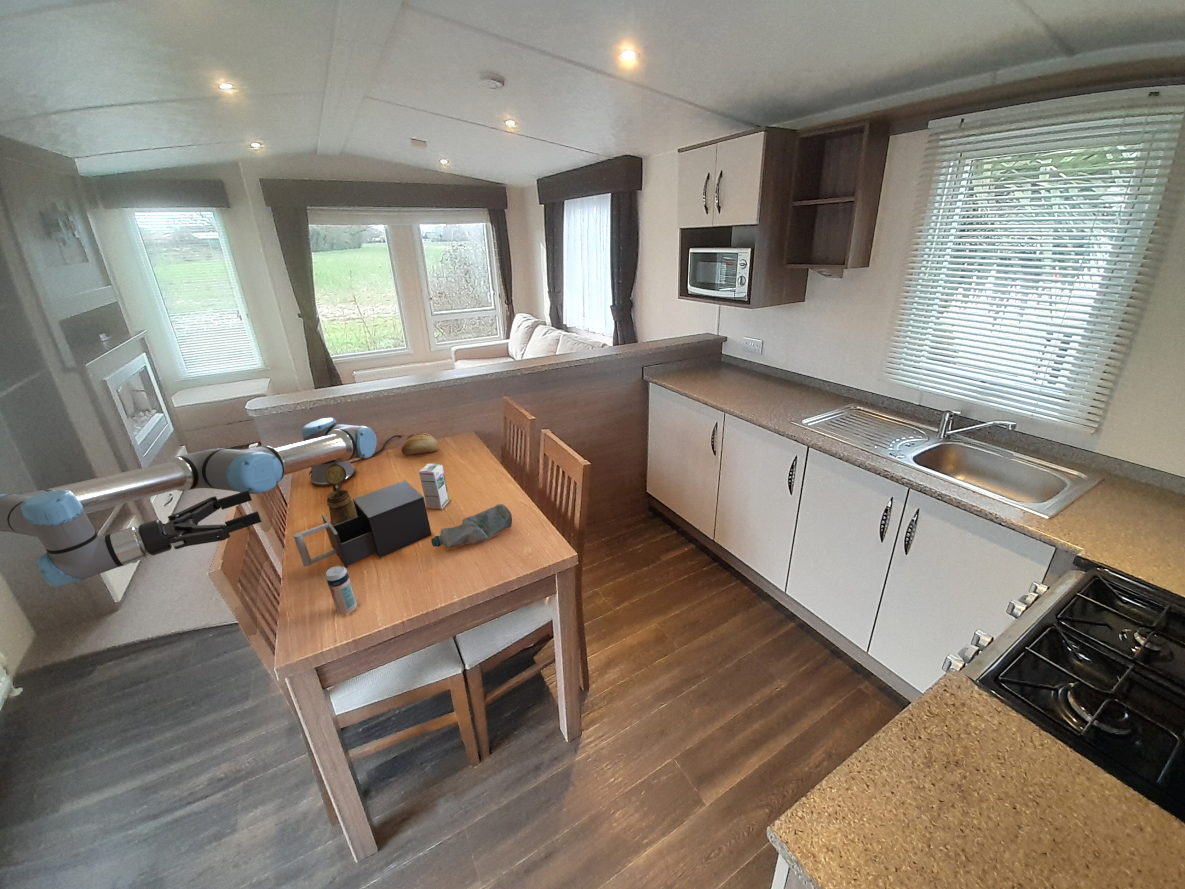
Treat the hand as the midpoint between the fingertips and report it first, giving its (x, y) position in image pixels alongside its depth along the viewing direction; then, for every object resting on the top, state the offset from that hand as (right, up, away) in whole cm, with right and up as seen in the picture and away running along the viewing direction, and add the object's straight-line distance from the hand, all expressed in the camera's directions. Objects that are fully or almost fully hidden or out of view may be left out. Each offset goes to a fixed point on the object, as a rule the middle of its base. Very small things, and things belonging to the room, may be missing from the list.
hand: (254, 505), depth 119 cm
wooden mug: (+3, -10, +38) cm, 39 cm away
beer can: (+23, -26, +1) cm, 35 cm away
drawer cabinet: (+24, -13, +29) cm, 40 cm away
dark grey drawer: (+14, -16, +20) cm, 29 cm away
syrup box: (+31, -6, +45) cm, 55 cm away
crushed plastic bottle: (+48, -13, +27) cm, 57 cm away
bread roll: (+12, +12, +83) cm, 85 cm away
